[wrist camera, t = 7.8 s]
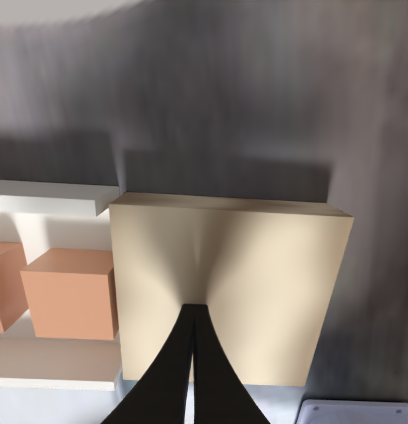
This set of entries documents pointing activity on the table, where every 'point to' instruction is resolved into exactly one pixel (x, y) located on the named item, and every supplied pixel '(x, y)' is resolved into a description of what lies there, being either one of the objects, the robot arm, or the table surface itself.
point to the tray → (34, 247)
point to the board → (227, 277)
